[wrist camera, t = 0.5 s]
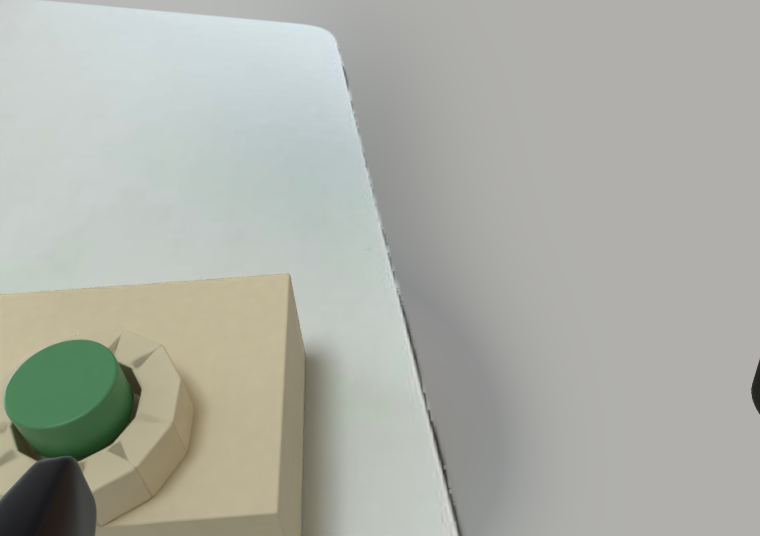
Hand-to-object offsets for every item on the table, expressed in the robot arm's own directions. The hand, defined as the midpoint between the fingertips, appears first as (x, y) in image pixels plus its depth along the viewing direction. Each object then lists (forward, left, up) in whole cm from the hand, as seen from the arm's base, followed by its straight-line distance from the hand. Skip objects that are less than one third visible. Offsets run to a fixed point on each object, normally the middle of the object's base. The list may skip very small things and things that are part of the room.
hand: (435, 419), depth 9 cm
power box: (+9, +10, -16) cm, 21 cm away
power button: (+7, +10, -10) cm, 16 cm away
